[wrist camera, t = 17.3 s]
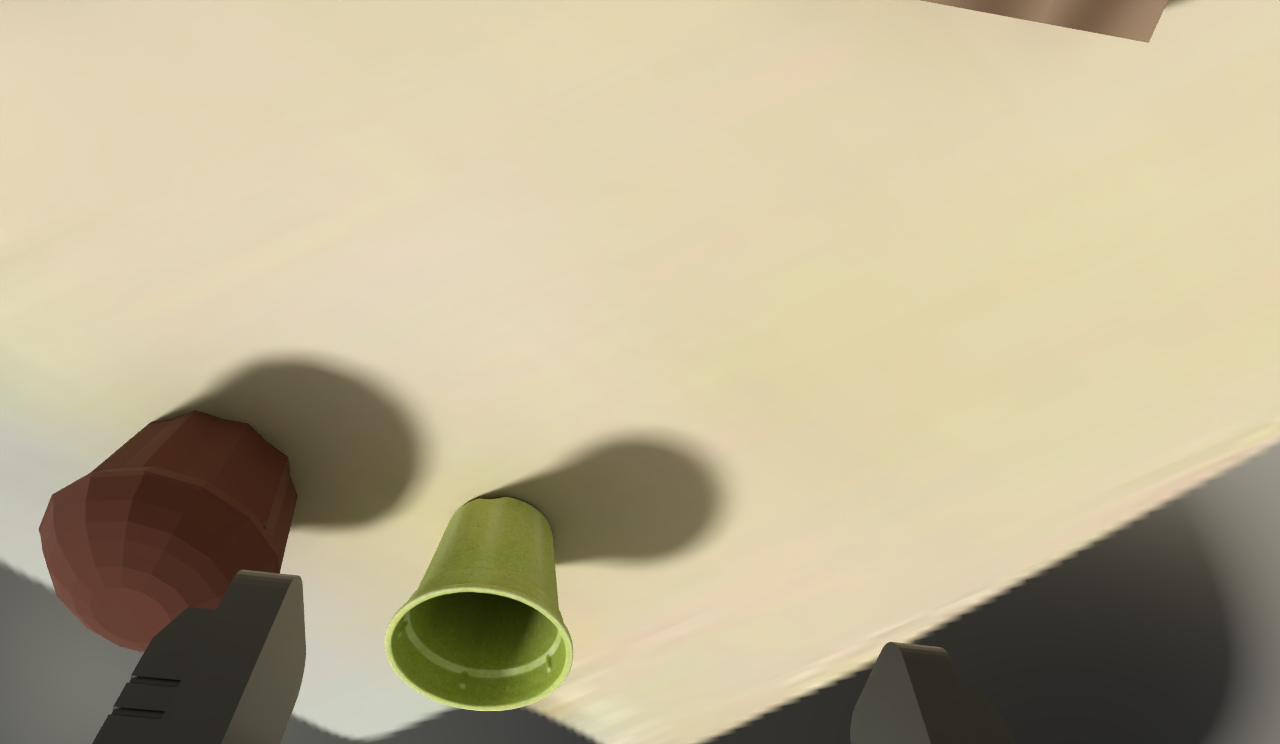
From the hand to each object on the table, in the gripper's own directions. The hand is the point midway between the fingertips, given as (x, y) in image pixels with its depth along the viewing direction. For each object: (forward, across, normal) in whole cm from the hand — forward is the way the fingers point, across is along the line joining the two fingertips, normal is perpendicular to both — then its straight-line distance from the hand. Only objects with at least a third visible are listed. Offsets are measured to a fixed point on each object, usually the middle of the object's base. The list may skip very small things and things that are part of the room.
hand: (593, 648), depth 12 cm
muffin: (+30, +19, +25) cm, 44 cm away
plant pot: (+30, +3, +27) cm, 41 cm away
